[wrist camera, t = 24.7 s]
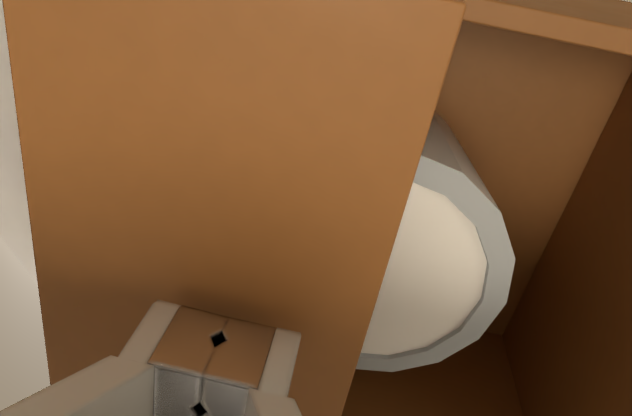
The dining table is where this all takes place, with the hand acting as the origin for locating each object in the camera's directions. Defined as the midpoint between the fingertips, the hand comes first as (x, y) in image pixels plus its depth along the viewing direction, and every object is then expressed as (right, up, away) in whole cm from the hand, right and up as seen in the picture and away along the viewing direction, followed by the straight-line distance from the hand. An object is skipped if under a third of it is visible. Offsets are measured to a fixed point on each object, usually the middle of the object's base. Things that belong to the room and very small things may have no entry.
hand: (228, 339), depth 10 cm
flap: (-1, +1, +1) cm, 1 cm away
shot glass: (+4, +4, +9) cm, 10 cm away
